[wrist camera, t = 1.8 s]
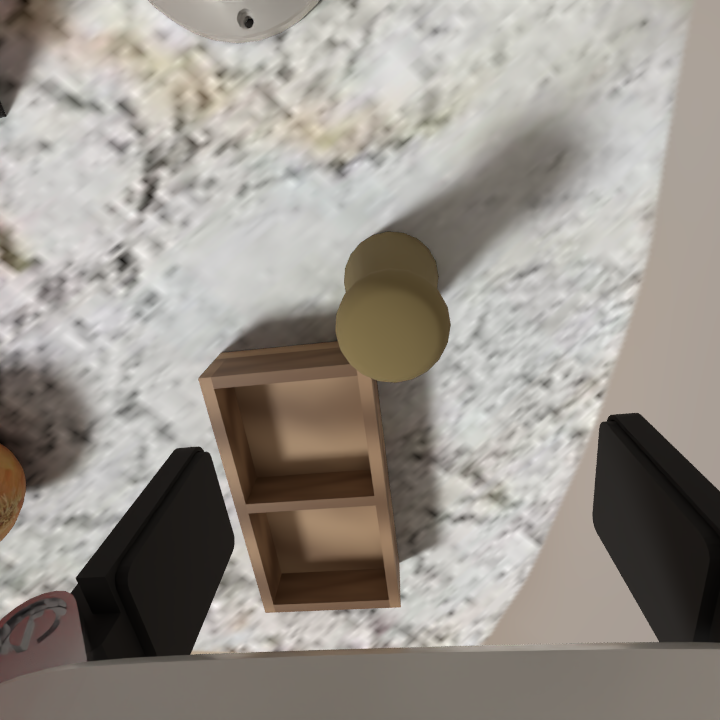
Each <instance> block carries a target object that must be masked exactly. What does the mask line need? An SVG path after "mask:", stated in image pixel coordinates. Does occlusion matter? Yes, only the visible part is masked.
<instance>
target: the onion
mask: <svg viewBox="0 0 720 720" xmlns="http://www.w3.org/2000/svg"><path fill="white" fill-rule="evenodd" d="M25 492H26V479H25V474H24V471H23V468H22V466H21V465H20V463H19V461H18V460H17V459H16V457H15V456H14V454H13V453H12V452H11V451H10V450H9V449H8V448H6V447H5V446H3V445H2V444H0V541H1V540H2V539H3V538H4V537H5V536H6V535H7V534H8V533H9V531H10V530H11V529H12V527H13V526H14V524H15V522H16V520H17V518H18V515H19V513H20V510H21V508H22V505H23V502H24V497H25Z"/></svg>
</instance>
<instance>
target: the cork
mask: <svg viewBox="0 0 720 720" xmlns="http://www.w3.org/2000/svg"><path fill="white" fill-rule="evenodd" d="M437 284H438V271H437V266H436V261H435V260H434V258H433V256H432V254H431V252H430V251H429V249H428V248H427V247H426V246H425V245H424V244H423V243H421V242H420V241H419V240H418V239H417V238H414V237H412V236H410V235H407V234H405V233H400V232H389V231H388V232H384V233H380V234H376V235H373V236H371V237H369V238H368V239H366V240H365V241H363V242H361V243H360V244H359V245H358V246H357V248H356V249H355V250H354V251H353V252H352V254H351V255H350V257H349V260H348V263H347V265H346V268H345V278H344V285H345V290H346V293H345V295H344V297H343V299H342V302H341V304H340V306H339V309H338V311H337V314H336V327H335V332H336V336H337V340H338V343H339V347H340V349H341V352H342V353H343V355H344V356H345V357H346V359H347V360H348V362H349V363H350V365H351V366H353V367H354V368H355V369H356V370H358V371H359V372H360V373H361V374H363V375H365V376H367V377H370V378H372V379H375V380H377V381H383V382H394V383H396V382H401V381H407V380H412V379H414V378H416V377H418V376H420V375H421V374H423V373H425V372H427V371H428V370H429V369H430V368H431V367H432V366H433V365H434V364H435V363H436V362H437V361H438V360H439V359H440V357H441V355H442V353H443V351H444V349H445V347H446V345H447V343H448V338H449V332H450V326H451V324H450V318H449V312H448V307H447V305H446V303H445V301H444V300H443V298H442V296H441V294H440V293H439V291H438V289H437Z"/></svg>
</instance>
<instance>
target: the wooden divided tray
mask: <svg viewBox="0 0 720 720" xmlns="http://www.w3.org/2000/svg"><path fill="white" fill-rule="evenodd" d="M198 379H199V383H200V386H201V390H202V393H203V397H204V400H205V404H206V407H207V411H208V414H209V418H210V421H211V425H212V428H213V432H214V435H215V439H216V442H217V445H218V449H219V452H220V456H221V459H222V463H223V466H224V470H225V473H226V477H227V480H228V484H229V487H230V491H231V494H232V498H233V501H234V505H235V508H236V512H237V515H238V518H239V522H240V525H241V529H242V532H243V536H244V539H245V543H246V546H247V550H248V553H249V557H250V560H251V564H252V567H253V571H254V574H255V578H256V581H257V585H258V588H259V591H260V595H261V598H262V602H263V605H264V609H265V612H266V613H270V612H295V611H319V610H344V609H368V608H393V607H401V603H400V570H399V557H398V549H397V541H396V532H395V524H394V516H393V508H392V500H391V492H390V484H389V476H388V468H387V460H386V452H385V443H384V435H383V427H382V419H381V411H380V403H379V395H378V387H377V380H375V379H372V378H370V377H367V376H365V375H363V374H361V373H360V372H359V371H358V370H356V369H355V368H354V367H353V366H351V365H350V363H349V362H348V360H347V359H346V357H345V356H344V355H343V353H342V352H341V349H340V347H339V343H338V341H335V342H325V343H315V344H305V345H295V346H285V347H275V348H265V349H255V350H245V351H235V352H224V353H220V354H219V356H218V357H217V358H216V359H215V360H214V361H213V362H212V364H211V365H210V366H209V367H208V368H207V369H206V370H205V371H204V373H203V374H202V375H201V376H200V377H199V378H198Z"/></svg>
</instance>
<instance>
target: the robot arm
mask: <svg viewBox="0 0 720 720" xmlns="http://www.w3.org/2000/svg"><path fill="white" fill-rule="evenodd" d="M148 1H149V2H150V3H151V4H152V5H153V6H154V7H155V8H156V9H158V10H159V11H160V12H162V13H163V14H164V15H166V16H167V17H168V18H170V19H171V20H172V21H174V22H176V23H177V24H179V25H181V26H182V27H184V28H186V29H187V30H189V31H191V32H193V33H195V34H198V35H201V36H203V37H206V38H209V39H212V40H215V41H223V42H231V43H244V42H254V41H260V40H263V39H266V38H269V37H271V36H274V35H277V34H280V33H282V32H283V31H285V30H286V29H288V28H289V27H291V26H293V25H294V24H296V23H297V22H299V21H300V20H301V19H302V18H303V17H304V16H305V15H306V14H307V13H308V12H309V11H310V10H311V9H312V8H313V7H314V6H315V5H317V3H318V2H319V0H148ZM248 19H253V21H254V24H253V26H252V27H251V28H247V27H246V21H247V20H248ZM596 466H597V467H596V478H595V490H594V503H593V523H594V527H595V530H596V532H597V534H598V536H599V537H600V539H601V541H602V543H603V544H604V546H605V548H606V549H607V551H608V553H609V555H610V556H611V558H612V560H613V562H614V563H615V565H616V567H617V569H618V570H619V572H620V574H621V576H622V577H623V579H624V581H625V583H626V584H627V586H628V588H629V590H630V591H631V593H632V595H633V597H634V598H635V600H636V602H637V603H638V605H639V607H640V609H641V611H642V612H643V614H644V616H645V618H646V619H647V621H648V622H649V625H650V626H651V628H652V630H653V631H654V633H655V635H656V637H657V638H658V640H659V642H634V643H629V642H628V643H570V644H527V645H482V646H444V647H408V648H374V649H340V650H309V651H280V652H251V653H223V654H196V655H190V654H191V651H192V649H193V647H194V644H195V642H196V639H197V637H198V635H199V632H200V630H201V627H202V625H203V622H204V620H205V618H206V615H207V613H208V610H209V608H210V605H211V603H212V601H213V598H214V596H215V593H216V591H217V588H218V586H219V584H220V581H221V579H222V576H223V574H224V571H225V569H226V567H227V564H228V562H229V559H230V557H231V554H232V552H233V549H234V534H233V530H232V527H231V523H230V520H229V517H228V513H227V510H226V506H225V503H224V499H223V496H222V492H221V489H220V486H219V482H218V479H217V475H216V472H215V468H214V465H213V461H212V458H211V455H210V454H209V452H204V450H203V449H202V448H201V447H187V448H177V449H175V450H174V451H173V453H172V454H171V455H170V456H169V458H168V459H167V460H166V462H165V463H164V464H163V466H162V467H161V468H160V469H159V471H158V472H157V473H156V475H155V476H154V477H153V478H152V480H151V481H150V482H149V484H148V485H147V486H146V488H145V489H144V490H143V491H142V493H141V494H140V495H139V497H138V498H137V499H136V501H135V502H134V503H133V504H132V506H131V507H130V508H129V510H128V511H127V512H126V514H125V515H124V516H123V517H122V519H121V520H120V521H119V523H118V524H117V525H116V526H115V528H114V529H113V530H112V532H111V533H110V534H109V536H108V537H107V538H106V539H105V541H104V542H103V543H102V545H101V546H100V547H99V549H98V550H97V551H96V552H95V554H94V555H93V556H92V558H91V559H90V560H89V561H88V563H87V564H86V565H85V567H84V568H83V569H82V571H81V572H80V573H79V574H78V576H77V577H76V580H77V582H78V584H77V586H76V587H75V588H74V589H73V591H72V592H71V593H68V592H66V591H53V592H49V593H44V594H41V595H39V596H37V597H34V598H32V599H29V600H28V601H26V602H24V603H23V604H21V605H19V606H18V607H16V608H15V609H14V610H12V611H11V612H10V613H8V614H7V615H6V616H5V617H3V618H2V620H1V621H0V720H720V491H719V490H718V489H717V488H716V487H714V486H713V484H712V483H710V482H709V481H708V480H707V479H706V478H705V477H704V476H703V475H702V474H701V473H700V472H699V471H698V470H697V469H696V468H695V467H694V466H693V465H692V464H691V463H690V462H689V461H688V460H687V459H686V458H685V457H684V456H683V455H682V454H681V453H680V452H679V451H678V450H677V449H675V448H674V447H673V446H672V445H671V444H670V443H669V442H668V441H667V440H666V439H665V438H664V437H663V436H662V435H661V434H660V433H659V432H658V431H657V430H656V429H655V428H654V427H653V426H652V425H651V424H650V423H649V422H648V421H647V420H645V418H643V417H642V416H641V415H640V414H639V413H629V414H616V415H610V416H609V417H608V420H607V422H602V423H601V424H600V428H599V440H598V453H597V465H596Z"/></svg>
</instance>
